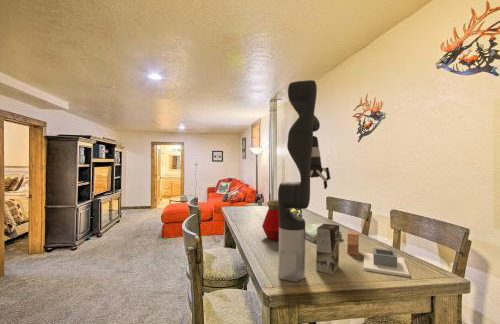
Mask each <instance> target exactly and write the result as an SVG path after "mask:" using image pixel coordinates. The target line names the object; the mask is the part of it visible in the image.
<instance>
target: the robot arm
mask: <svg viewBox="0 0 500 324" xmlns="http://www.w3.org/2000/svg"><path fill="white" fill-rule="evenodd" d="M317 89H318V86H317V83H316V81H315V80H314V79H305V80H304V79H303V80H294V81H291V82H289V84H288V87H287V98H288V101H289V103H290V105H291V106H292V107H293V109H294V111H296V113H297V115H298V117H297V119H296V120H295V121H294V123H292V125H291V126H290V129H289V131H288V135H287V142H286V143H287V146H286V147H287V148H286V149H287V151H288V153H289V155H290V157H291V160H293V163H295V165H296V167H297V169H298V172H299V177H300V181H282V182H280V184H279V186H278V191H277V200H278V206H279V241H278V277H279V280H284V281H290V282H293V283H294V282H296V283H297V282H299V281H302V280H304V278H305V275H306V274H305V270H306V269H305V267H306V238H305V225H306V220H305V219H304V218H303V217H300V216H299V215H296V214H295V213H293V212H292V210H290V209H300V210H306V209H308V207H309V205H310V200H311V179H313V178H319V177H320V179H322V180H323V189H324V190H327V188H328V181H329V180H331V174H330V169H329V167H322V166H323V165H322V159H321V151H320V146H319V139H318V137H317V136H315V135H314V132H317V131H319V129H320V128H321V127H320V125H321V124H320V121H319V119H318V118H317V116H316V115H315V108H316V102H317V91H318V90H317ZM322 172H324V173H325V174H326V176H324V175H323V174H322Z"/></svg>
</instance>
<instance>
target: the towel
mask: <svg viewBox="0 0 500 324" xmlns="http://www.w3.org/2000/svg"><path fill="white" fill-rule="evenodd" d="M322 224H325V223H323V222H319V223H312V224H305V240H308V241H310V242H312V243H317V228H318V227H319V226H321V225H322ZM342 237H343V234H342V231H341V230H339V240H342Z"/></svg>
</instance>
